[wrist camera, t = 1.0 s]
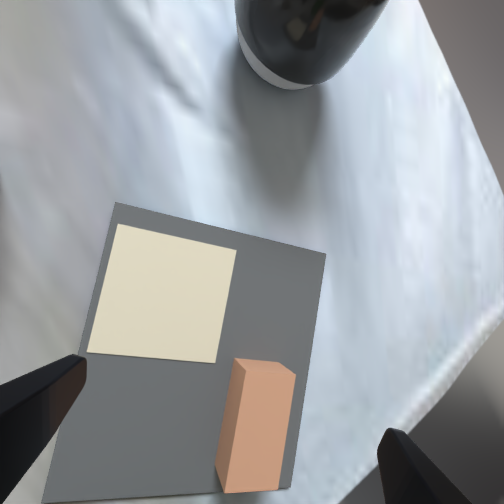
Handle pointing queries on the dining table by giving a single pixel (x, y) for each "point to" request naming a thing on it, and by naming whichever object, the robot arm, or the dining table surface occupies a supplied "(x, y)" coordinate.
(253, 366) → the flat block
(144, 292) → the rubber mat
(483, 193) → the dining table surface
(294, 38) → the pump dispenser
